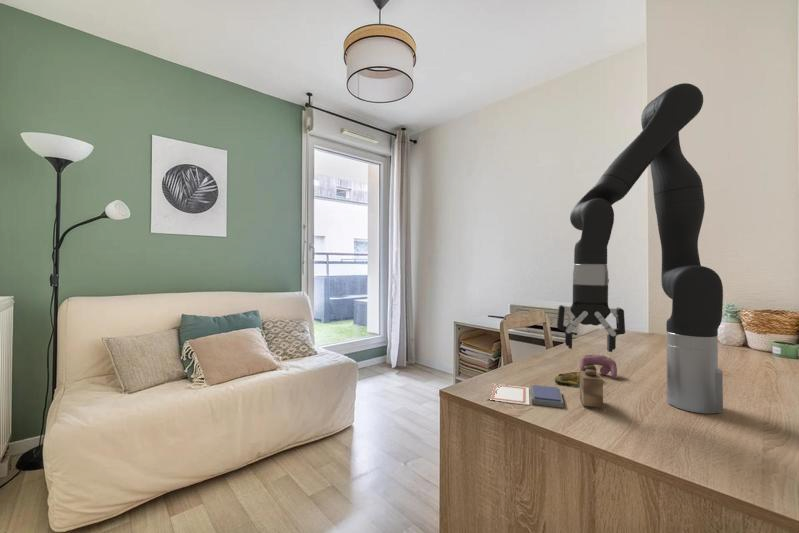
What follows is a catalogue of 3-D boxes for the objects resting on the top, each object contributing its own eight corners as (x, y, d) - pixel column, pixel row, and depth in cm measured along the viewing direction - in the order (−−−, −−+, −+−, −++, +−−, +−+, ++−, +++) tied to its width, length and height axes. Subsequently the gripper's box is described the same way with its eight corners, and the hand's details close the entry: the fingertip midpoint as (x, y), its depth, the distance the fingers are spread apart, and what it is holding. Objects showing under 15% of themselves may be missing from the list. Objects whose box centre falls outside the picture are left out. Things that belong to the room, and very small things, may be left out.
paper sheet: (529, 388, 93) (529, 387, 93) (529, 405, 82) (529, 404, 82) (491, 384, 97) (491, 383, 97) (486, 400, 85) (486, 398, 85)
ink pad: (559, 393, 90) (559, 386, 90) (563, 407, 80) (563, 401, 80) (531, 389, 92) (530, 383, 92) (531, 404, 83) (531, 397, 83)
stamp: (597, 400, 85) (597, 368, 85) (603, 409, 79) (602, 375, 79) (579, 398, 86) (579, 366, 86) (583, 407, 81) (583, 373, 81)
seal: (572, 395, 92) (609, 386, 98) (573, 378, 91) (611, 370, 97) (545, 380, 100) (581, 373, 106) (546, 365, 100) (582, 358, 106)
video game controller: (617, 381, 103) (616, 358, 105) (617, 378, 99) (616, 354, 102) (580, 376, 108) (580, 354, 110) (578, 373, 104) (579, 350, 107)
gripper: (620, 282, 84) (619, 348, 84) (556, 281, 89) (556, 343, 89) (628, 284, 77) (628, 356, 77) (559, 282, 82) (558, 350, 82)
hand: (589, 349), depth 83 cm, fingers open, 8 cm apart
